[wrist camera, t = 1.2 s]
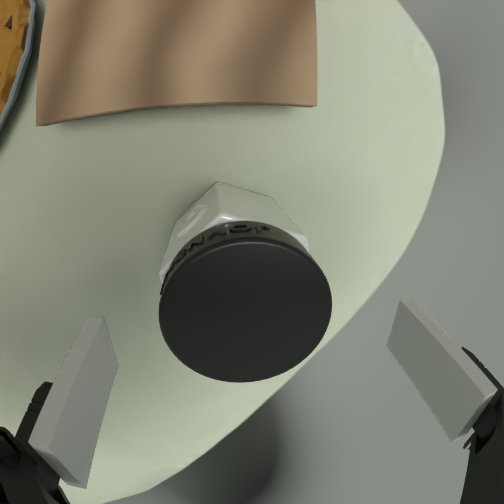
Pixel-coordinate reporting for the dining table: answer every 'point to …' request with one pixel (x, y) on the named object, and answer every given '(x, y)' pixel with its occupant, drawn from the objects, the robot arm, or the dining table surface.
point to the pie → (14, 49)
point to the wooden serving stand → (174, 55)
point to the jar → (241, 288)
